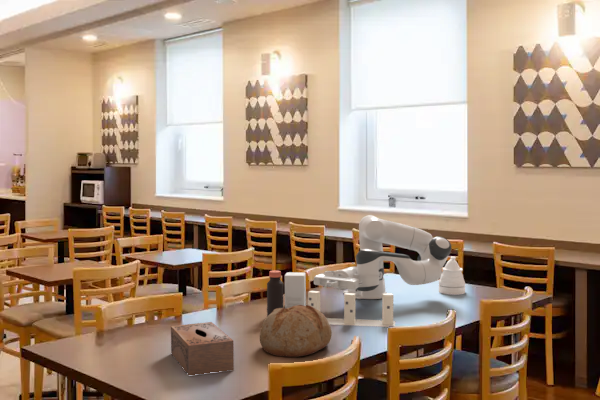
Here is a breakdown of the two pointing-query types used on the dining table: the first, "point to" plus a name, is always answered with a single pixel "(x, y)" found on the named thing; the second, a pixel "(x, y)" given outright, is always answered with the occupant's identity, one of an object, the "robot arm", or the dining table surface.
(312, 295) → the tile three
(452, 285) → the honey pot
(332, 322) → the felt strip
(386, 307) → the tile one
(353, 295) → the tile two
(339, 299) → the dining table surface
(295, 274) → the supplement box
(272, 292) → the bottle
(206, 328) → the tissue box cover
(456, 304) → the dining table surface
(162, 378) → the dining table surface
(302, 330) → the bread
